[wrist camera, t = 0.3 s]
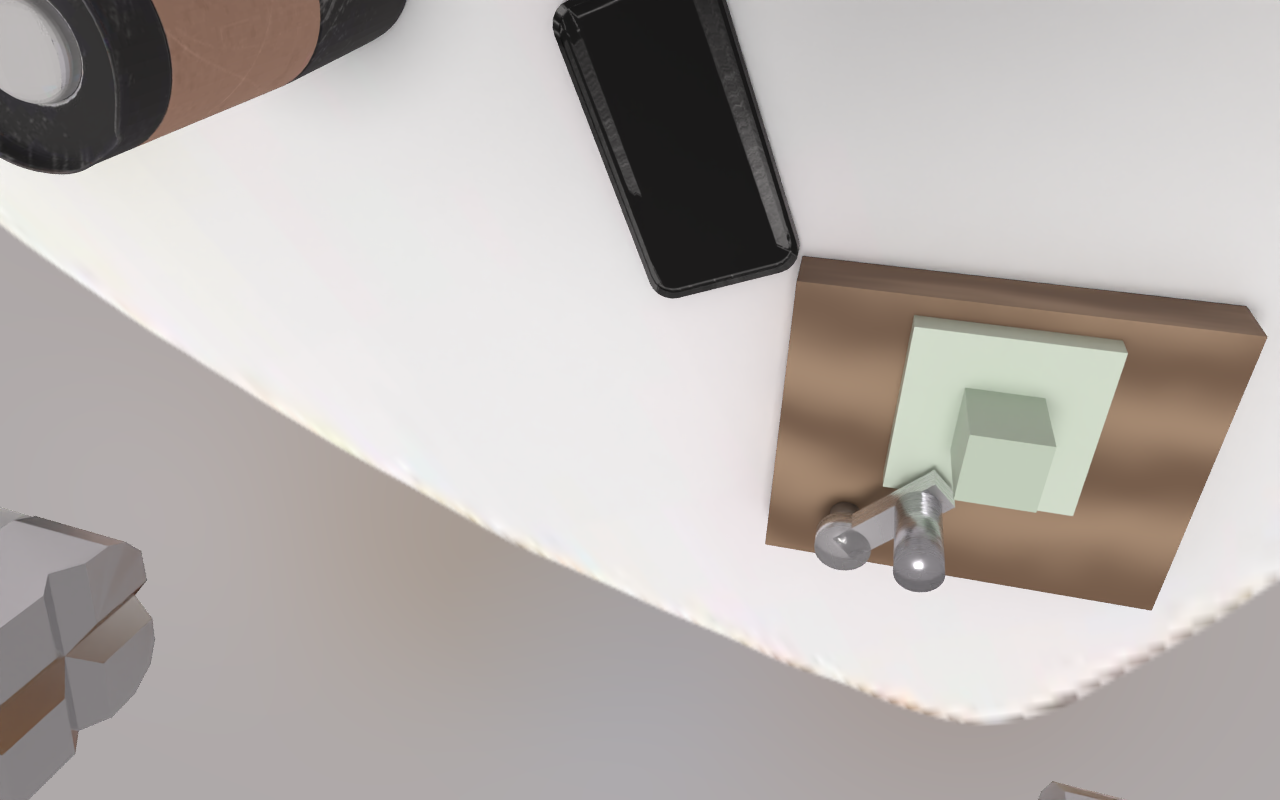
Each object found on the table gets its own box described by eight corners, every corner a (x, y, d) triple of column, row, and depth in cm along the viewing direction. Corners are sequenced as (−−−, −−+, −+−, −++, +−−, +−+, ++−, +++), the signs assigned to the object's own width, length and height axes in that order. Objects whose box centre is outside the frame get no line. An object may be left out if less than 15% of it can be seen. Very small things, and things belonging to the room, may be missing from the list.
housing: (802, 256, 47) (793, 293, 43) (1246, 306, 43) (1278, 352, 39) (771, 511, 55) (762, 560, 51) (1140, 571, 51) (1157, 629, 48)
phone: (705, -54, 40) (803, 266, 46) (710, -57, 41) (805, 257, 47) (542, 10, 43) (655, 303, 49) (550, 6, 44) (660, 294, 50)
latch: (838, 563, 50) (831, 642, 45) (805, 527, 49) (794, 604, 44) (961, 500, 46) (967, 580, 41) (927, 461, 45) (929, 537, 41)
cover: (914, 315, 44) (914, 370, 39) (1122, 340, 42) (1147, 401, 38) (883, 472, 48) (880, 536, 44) (1069, 501, 47) (1085, 571, 42)
